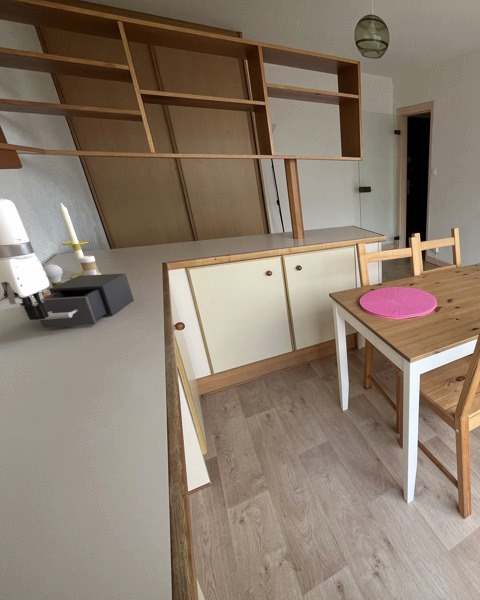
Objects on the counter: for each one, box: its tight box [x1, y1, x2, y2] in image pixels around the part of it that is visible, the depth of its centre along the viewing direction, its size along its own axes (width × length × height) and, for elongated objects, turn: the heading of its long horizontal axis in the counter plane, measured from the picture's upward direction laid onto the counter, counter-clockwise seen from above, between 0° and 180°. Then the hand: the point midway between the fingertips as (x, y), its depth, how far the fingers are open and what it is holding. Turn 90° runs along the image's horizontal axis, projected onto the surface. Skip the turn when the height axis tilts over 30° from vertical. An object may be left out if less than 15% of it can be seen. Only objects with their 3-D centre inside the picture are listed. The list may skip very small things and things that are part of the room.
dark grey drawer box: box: [48, 273, 135, 318], centre depth 106 cm, size 15×14×11 cm
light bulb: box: [42, 263, 64, 287], centre depth 125 cm, size 6×6×10 cm
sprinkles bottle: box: [77, 255, 100, 275], centre depth 124 cm, size 5×5×14 cm
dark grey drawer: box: [38, 288, 108, 329], centre depth 96 cm, size 18×12×9 cm
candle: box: [59, 202, 102, 279], centre depth 137 cm, size 10×10×32 cm
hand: (39, 318), depth 84 cm, fingers closed
